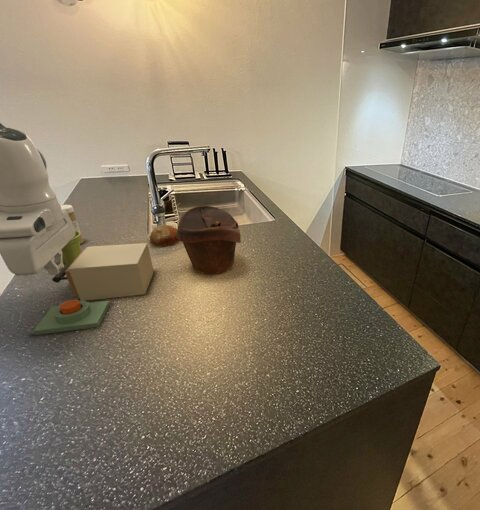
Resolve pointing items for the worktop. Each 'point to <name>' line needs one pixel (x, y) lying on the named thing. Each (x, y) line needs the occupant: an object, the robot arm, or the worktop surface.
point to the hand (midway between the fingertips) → (57, 271)
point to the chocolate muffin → (209, 238)
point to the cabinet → (112, 271)
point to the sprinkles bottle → (72, 219)
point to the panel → (72, 318)
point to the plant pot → (71, 249)
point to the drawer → (66, 272)
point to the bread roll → (164, 236)
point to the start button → (70, 306)
